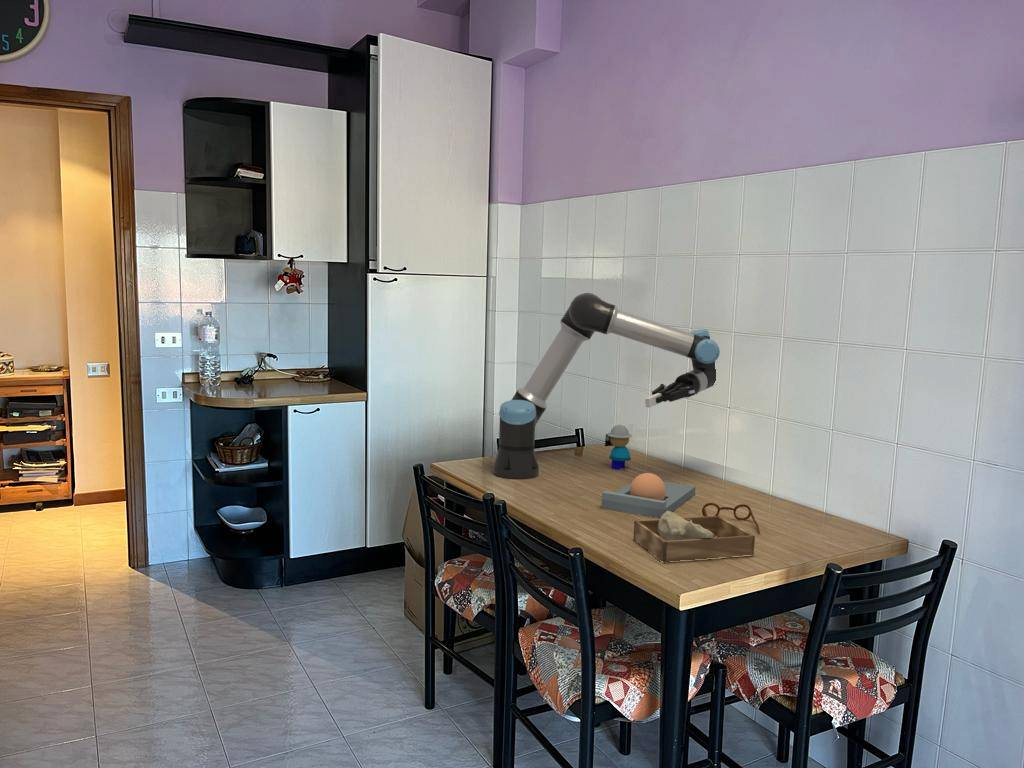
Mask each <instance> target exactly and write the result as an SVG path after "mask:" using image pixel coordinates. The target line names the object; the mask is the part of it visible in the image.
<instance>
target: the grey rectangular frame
mask: <svg viewBox="0 0 1024 768" xmlns="http://www.w3.org/2000/svg"><path fill="white" fill-rule="evenodd" d="M631 483H632V481H631V482H630V483H628V484H625V485H624V486H622V487H621V488H619V489H617V490H616V491H614V492H612V491H606V490H604V491H602V492H601V494H602V495H601V509H605V510H610V511H615V510H616V511H617V512H621V511H623V513H626V512H628V513H627V514H632V513H633V514H632V515H638V514H640V515H639V516H643V515H645V517H649V516H651V517H650V518H654V517H657V518H656V519H660V518H661V516H662V515H663V514H664V513H665V512H666V511H670V512H672V513H674V511H675V509H676V510H677V509H678V508H679V507H681V506H682V505H684V504H685V503H686V502H688V501H689V500H690V499H691V498H693V497H694V496H695V495H696V486H693V485H687V484H681V483H675V482H669V481H663V483H664V485H665V489H666V494H665V498H664V500H663V501H662V500H656V499H650V498H644V497H638V496H632V495H630V486H631ZM684 502H685V503H684ZM680 505H681V506H680Z"/></svg>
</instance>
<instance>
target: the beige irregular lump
mask: <svg viewBox="0 0 1024 768" xmlns="http://www.w3.org/2000/svg"><path fill="white" fill-rule="evenodd" d="M683 518H684V517H682V516H680V515H678V514H676V513H675V512H670V511H666V512H665V513H664V514H663V515H662V516H661V518H659V519H660V520H659V523H658V532H659V535H660V537H661V538H662V539H664V540H665V541H674V540H689V539H704V538H714V537H715V536H714V534H713V533H712V532H711V531H709V530H707V529H704V528H703V527H702V526H700V525H697V524H694V523H692V520H691V521H690V522H689V521H687V520H690V519H687V520H685V519H683Z"/></svg>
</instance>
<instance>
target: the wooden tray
mask: <svg viewBox="0 0 1024 768" xmlns="http://www.w3.org/2000/svg"><path fill="white" fill-rule="evenodd" d="M682 518H683V519H685V520H687V519H690V520H687V521H689V522H690V521H691V520H692V523H694V524H697V525H700V526H702V527H703V528H704V529H707V530H709V531H711V532H712V533H713V534H714V535H717V536H716V537H712V538H704V539H689V540H674V541H665V540H664V539H662V538H661V537H660V535H659V532H658V523H659V520H660V518H655V519H641V520H640V519H639V520H634V522H633V524H634V525H633V536H632V537H633V538H632V540H633V541H634V540H635V541H636V542H637V543H636V542H635V541H634V542H635V543H636V544H638V543H639V544H640V545H641V546H640V545H639V544H638V545H639V546H640V547H641V548H643V547H644V548H645V549H647V550H648V551H649V552H651V553H652V554H653V555H655V556H656V557H657V558H659V559H660V560H661V561H663V562H670V561H680V560H695V559H707V558H719V557H732V556H743V555H755V553H754V552H755V540H756V539H755V538H756V535H754V534H752V533H750V532H748V531H747V530H745V529H743V528H742V527H740V526H738V525H736V524H734V523H732V521H731V522H730V521H729V520H727V519H725V518H724V517H722V516H720V515H718V516H715V515H710V516H709V515H707V516H705V517H704V516H693V517H692V516H689V517H682ZM718 536H719V537H718ZM644 548H643V549H644ZM645 549H644V550H645ZM647 550H646V551H647ZM648 551H647V552H648ZM649 552H648V553H649ZM651 553H650V554H651ZM652 554H651V555H652ZM653 555H652V556H653ZM656 557H655V558H656ZM657 558H656V559H657ZM660 560H659V561H660ZM661 561H660V562H661Z"/></svg>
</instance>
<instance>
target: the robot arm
mask: <svg viewBox="0 0 1024 768" xmlns="http://www.w3.org/2000/svg"><path fill="white" fill-rule="evenodd" d="M559 323H560V330H559V331H558V333H557V334H556V336H555V338H554V339H553V341H552V343H551V344H550V346H549V347H548V349H547V351H545V354H544V355H543V357H542V358H541V359H540V362H539V363H538V365H537V367H536V368H535V369H534V371H533V373H532V374H531V376H530V378H529V380H528V381H527V382H526V384H525V386H524V387H522V388H519V389H517V390H516V392H515V393H514V395H513V396H512V398H511V399H510V400H508V401H507V400H506V401H504V402H503V403H501V404H500V406H499V407H500V408H499V411H498V416H499V431H498V433H499V434H498V451H497V454H496V457H495V459H494V462H493V465H492V473H493V475H495V476H498V477H500V478H505V479H516V480H517V479H521V480H522V479H523V478H524V479H531V478H536V477H538V476H539V475H540V466H539V462H538V458H537V456H536V452H535V444H536V443H535V440H536V426H537V424H538V422H539V420H540V419H541V418H542V415H544V412H545V411H546V409H547V402H546V401H547V399H548V398H549V396H550V395H551V393H552V392H553V391H554V388H555V387H556V385H557V383H558V382H559V380H560V379H561V377H562V376H563V374H564V372H565V371H566V369H567V368H568V366H569V365H570V363H571V361H572V360H573V358H574V357H575V355H576V354H577V352H578V350H579V348H580V347H581V346H582V344H583V342H584V341H589V340H591V338H592V336H593V335H594V334H595V333H600V334H604V335H609V334H614V335H617V336H620V337H624V338H626V339H629V340H632V341H636V342H639V343H642V344H645V345H648V346H651V347H654V348H658V349H661V350H664V351H667V352H671V353H673V354H676V355H680V356H682V357H686V358H688V359H690V360H691V365H692V370H690V371H689V370H688V372H685V373H683V374H681V375H678V376H677V377H676V379H675V380H674V382H671V383H670V384H668V385H666V384H663V383H661V384H660V385H659V386H658V387H657V388H655V389H654V390H652V391H651V395H650V396H647V397H646V398H644V403H645V408H649V409H650V408H652V407H655V406H656V405H659V404H660V403H662V402H664V403H666V402H670V403H671V402H675V401H679V400H682V399H684V398H685V399H686V398H691V397H693V396H695V395H698V394H699V393H701V392H702V391H705V390H707V389H710V388H713V387H714V386H713V385H714V383H715V381H716V369H715V362H716V361H717V360H718V358H719V357H720V346H719V344H718V343H717V342H716V341H715V340H713V339H711V336H710V333H709V330H708V329H706V328H701V329H696V330H693V331H689V332H687V331H685V330H681V329H679V328H675V327H672V326H669V325H666V324H663V323H659V322H656V321H655V320H651V319H648V318H645V317H641V316H639V315H635V314H633V313H629V312H626V311H622V310H620V309H618V307H617V306H616V305H614V304H611V303H608V302H606V301H605V300H602V299H601V297H600V296H597V295H596V294H594V293H590V292H584V293H581V294H578V295H576V296H575V297H574V298H572V301H571V302H570V305H569V307H568V308H567V310H566V311H565V313H564V315H563V316H562V318H561V319H560V322H559Z"/></svg>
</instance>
